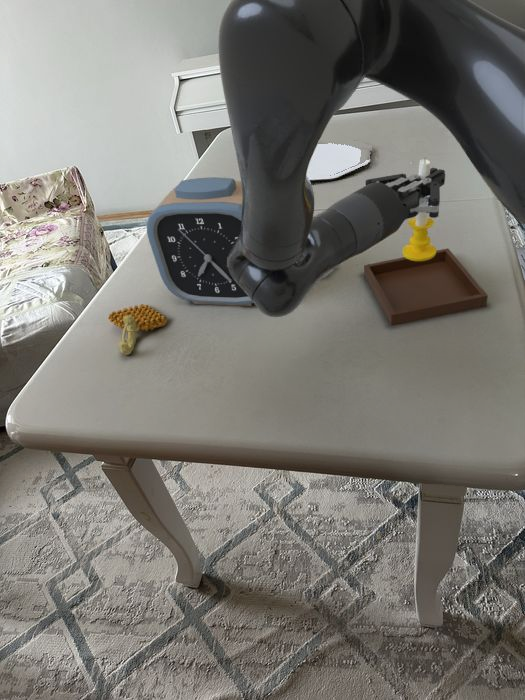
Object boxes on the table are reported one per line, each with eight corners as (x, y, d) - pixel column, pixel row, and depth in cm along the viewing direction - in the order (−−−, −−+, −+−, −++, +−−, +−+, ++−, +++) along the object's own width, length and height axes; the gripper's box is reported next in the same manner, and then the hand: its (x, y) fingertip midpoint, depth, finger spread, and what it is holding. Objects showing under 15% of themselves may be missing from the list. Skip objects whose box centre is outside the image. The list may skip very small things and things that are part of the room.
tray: (447, 260, 95) (448, 248, 94) (485, 308, 83) (488, 295, 82) (364, 277, 95) (363, 265, 94) (390, 327, 83) (391, 315, 82)
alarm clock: (169, 307, 97) (133, 200, 83) (188, 279, 104) (157, 175, 90) (274, 312, 91) (254, 197, 77) (287, 281, 98) (270, 170, 84)
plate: (308, 195, 125) (308, 189, 124) (249, 167, 144) (248, 162, 143) (393, 157, 134) (393, 152, 133) (327, 136, 153) (326, 131, 152)
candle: (441, 249, 84) (450, 152, 74) (426, 264, 81) (433, 166, 71) (412, 242, 86) (416, 148, 76) (396, 256, 84) (399, 161, 74)
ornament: (116, 287, 96) (88, 322, 82) (172, 293, 96) (154, 328, 82) (118, 320, 99) (91, 359, 86) (172, 325, 99) (154, 365, 86)
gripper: (401, 207, 63) (483, 158, 70) (322, 183, 71) (403, 142, 79) (399, 261, 68) (476, 209, 75) (326, 232, 76) (401, 189, 84)
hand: (438, 175), depth 77 cm, fingers closed on candle, 1 cm apart
